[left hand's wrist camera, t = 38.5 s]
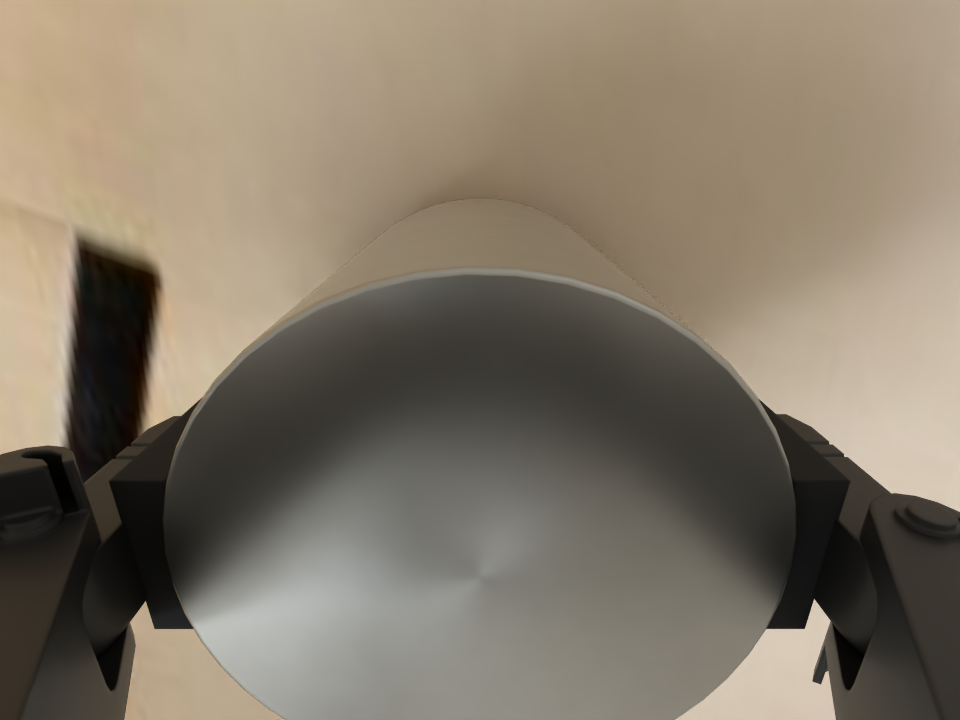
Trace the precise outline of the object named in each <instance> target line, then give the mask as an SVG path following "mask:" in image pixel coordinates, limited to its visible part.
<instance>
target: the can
mask: <svg viewBox="0 0 960 720" xmlns="http://www.w3.org/2000/svg"><path fill="white" fill-rule="evenodd" d="M163 529H164V543H165V554H166V558H167V562H168V566H169V570H170V574H171V579H172V583H173V586H174V588H175V591H176V593H177V596H178V598H179V600H180V603H181V605H182V608H183V610H184V613H185V615H186V616H187V618H188V620H189V622H190V623H191V625H192V627H193V628H194V630H195V632H196V633H197V635H198V637H199V638H200V640H201V642H202V643H203V644H204V646H205V647H206V648H207V649H208V651H209V652H210V653H211V655H212V656H213V657H214V658H215V660H216V661H217V662H218V663H219V665H220V666H221V667H222V668H223V669H224V670H225V671H226V672H227V673H228V674H229V675H230V676H231V677H232V678H233V679H234V680H235V681H236V682H237V683H238V684H239V685H240V686H241V687H242V688H243V689H244V690H245V691H246V692H248V693H249V694H250V695H251V696H253V697H254V698H255V699H257V700H258V701H259V702H260V703H262V704H263V705H264V706H265V707H267V708H268V709H269V710H271V711H272V712H274V713H275V714H277V715H279V716H280V717H282V718H283V719H285V720H675V719H677V718H678V717H680V716H681V715H682V714H684V713H685V712H687V711H688V710H689V709H691V708H692V707H694V706H695V705H697V704H698V703H699V702H701V701H702V700H703V699H705V698H706V697H707V696H708V695H709V694H710V693H711V692H713V691H714V690H715V689H716V688H717V687H718V686H719V685H720V684H722V683H723V682H724V681H725V680H726V679H727V678H728V677H729V676H730V675H731V674H732V673H733V671H734V670H735V669H736V668H737V667H738V666H739V665H740V664H741V662H742V661H743V660H744V659H745V658H746V657H747V656H748V655H749V653H750V652H751V650H752V649H753V647H754V646H755V644H756V643H757V641H758V640H759V639H760V637H761V636H762V634H763V633H764V631H765V630H766V628H767V626H768V624H769V622H770V620H771V618H772V616H773V614H774V612H775V610H776V608H777V606H778V604H779V602H780V600H781V598H782V595H783V592H784V588H785V585H786V582H787V579H788V576H789V573H790V570H791V565H792V559H793V552H794V546H795V539H796V501H795V495H794V490H793V485H792V479H791V474H790V469H789V464H788V461H787V458H786V455H785V453H784V450H783V447H782V445H781V442H780V439H779V437H778V434H777V431H776V429H775V427H774V425H773V424H772V422H771V420H770V418H769V417H768V415H767V413H766V412H765V410H764V408H763V406H762V405H761V403H760V401H759V399H758V398H757V396H756V395H755V394H754V392H753V391H752V390H751V389H750V387H749V386H748V385H747V384H746V383H745V381H744V380H743V379H742V378H741V376H740V375H739V374H738V373H737V372H736V370H735V369H734V368H733V367H732V366H731V364H730V363H728V362H727V361H726V360H725V359H724V358H723V357H722V356H721V355H719V354H718V353H717V352H716V351H715V350H714V349H713V348H712V347H710V346H709V345H708V344H707V343H706V342H705V341H704V340H703V339H701V338H700V337H699V336H698V335H697V334H696V333H694V332H693V331H692V330H691V329H690V328H689V327H687V326H686V325H685V324H684V323H683V322H681V321H680V320H679V319H678V318H677V317H676V316H674V315H673V314H672V313H671V312H670V311H669V310H667V309H666V308H665V307H664V306H663V305H661V304H660V303H659V302H658V301H657V300H656V299H654V298H653V297H652V296H651V295H650V294H648V293H647V292H646V291H645V290H644V289H643V288H641V287H640V286H639V285H638V284H637V283H635V282H634V281H633V280H632V279H631V278H630V277H628V276H627V275H626V274H625V273H624V272H622V271H621V270H620V269H619V268H618V267H617V266H615V265H614V264H613V263H612V262H611V261H609V260H608V259H607V258H606V257H605V256H604V255H602V254H601V253H600V252H599V251H598V250H596V249H595V248H594V247H593V246H592V245H591V244H589V243H588V242H587V241H586V240H585V239H583V238H582V237H581V236H580V235H579V234H578V233H576V232H575V231H574V230H573V229H571V228H570V227H568V226H567V225H565V224H564V223H562V222H561V221H559V220H558V219H556V218H554V217H552V216H550V215H548V214H546V213H544V212H542V211H540V210H538V209H535V208H532V207H529V206H526V205H522V204H519V203H516V202H510V201H504V200H498V199H479V198H473V199H463V200H453V201H449V202H445V203H441V204H437V205H433V206H430V207H428V208H425V209H423V210H420V211H418V212H415V213H413V214H411V215H409V216H408V217H406V218H404V219H402V220H400V221H399V222H397V223H395V224H394V225H393V226H391V227H390V228H389V229H387V230H386V231H385V232H383V233H382V234H381V235H380V236H378V237H377V238H376V239H375V240H374V241H372V242H371V243H370V244H369V245H368V246H366V247H365V248H364V249H363V250H362V251H361V252H359V253H358V254H357V255H356V256H355V257H353V258H352V259H351V260H350V261H349V262H347V263H346V264H345V265H344V266H343V267H342V268H340V269H339V270H338V271H337V272H336V273H334V274H333V275H332V276H331V277H330V278H328V279H327V280H326V281H325V282H324V283H323V284H321V285H320V286H319V287H318V288H317V289H315V290H314V291H313V292H312V293H311V294H309V295H308V296H307V297H306V298H305V299H304V300H302V301H301V302H300V303H299V304H298V305H296V306H295V307H294V308H293V309H292V310H291V311H289V312H288V313H287V314H286V315H285V316H283V317H282V318H281V319H280V320H279V321H277V322H276V323H275V324H274V325H273V326H272V327H270V328H269V329H268V330H267V331H266V332H264V333H263V334H262V335H261V336H260V337H258V338H257V339H256V340H255V341H254V342H253V343H251V344H250V345H249V346H248V347H247V348H245V349H244V350H243V351H242V352H241V353H240V354H239V355H238V356H237V357H236V359H235V360H234V361H233V362H232V363H231V364H230V365H229V366H228V367H227V368H226V369H225V370H224V371H223V372H222V373H221V374H220V375H219V376H218V377H217V378H216V379H215V380H214V382H213V383H212V385H211V386H210V388H209V389H208V391H207V392H206V393H205V395H204V396H203V398H202V399H201V401H200V402H199V404H198V405H197V406H196V408H195V409H194V411H193V412H192V414H191V416H190V418H189V421H188V423H187V425H186V427H185V429H184V431H183V433H182V435H181V438H180V440H179V442H178V444H177V446H176V449H175V453H174V457H173V460H172V464H171V467H170V471H169V475H168V478H167V482H166V490H165V501H164V511H163Z"/></svg>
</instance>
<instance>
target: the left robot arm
mask: <svg viewBox="0 0 960 720" xmlns="http://www.w3.org/2000/svg"><path fill="white" fill-rule="evenodd" d="M202 398H203V397H202ZM202 398H201V399H202ZM201 399H200V400H199V401H198V402H197V403H196V404H194V405H193V406H192V407H191V408H190V409H189V410H188V411H187V412H186V413H184V414H183V415H182V416H173V417H171V418H169V419H167V420H165V421H163V422H161V423H159V424H157V425H155V426H153V427H151V428H149V429H148V430H147V431H145V432H144V433H143V434H142V435H141V436H139V437H138V438H137V439H136V440H135V441H133V442H132V443H131V447H126V448H125V449H124V450H123V451H122V452H120V453H119V454H118V455H117V456H116V459H112V460H111V461H110V462H109V463H107V464H106V465H105V466H104V467H103V468H101V469H100V470H99V471H98V472H97V473H95V474H94V475H93V476H92V477H91V478H89V479H88V480H87V481H86V482H85V483H84V484H83V481H82V478H81V475H80V472H79V469H78V466H77V463H76V460H75V457H74V454H73V452H72V451H70V450H68V449H67V448H65V447H58V446H40V447H31V448H25V449H21V450H17V451H13V452H9V453H5V454H1V455H0V720H124V717H125V711H126V704H127V698H128V691H129V685H130V678H131V672H132V665H133V659H134V653H135V646H136V645H135V639H134V634H133V631H132V628H131V625H130V621H131V620H132V619H133V617H134V616H135V614H136V613H137V612H138V610H139V609H140V608H141V606H142V605H143V604H144V602H145V601H146V603H147V606H148V609H149V612H150V615H151V619H152V622H153V625H154V628H155V629H194V628H193V627H192V625H191V623H190V622H189V620H188V618H187V616H186V615H185V613H184V610H183V608H182V605H181V603H180V600H179V598H178V596H177V593H176V591H175V588H174V586H173V583H172V579H171V574H170V570H169V566H168V562H167V558H166V554H165V543H164V529H163V511H164V501H165V490H166V482H167V478H168V475H169V471H170V467H171V464H172V460H173V457H174V453H175V449H176V446H177V444H178V442H179V440H180V438H181V435H182V433H183V431H184V429H185V427H186V425H187V423H188V421H189V418H190V416H191V414H192V412H193V411H194V409H195V408H196V406H197V405H198V404H199V402H200V401H201ZM759 401H760V400H759ZM760 403H761V405H762V406H763V408H764V410H765V412H766V413H767V415H768V417H769V418H770V420H771V422H772V424H773V425H774V427H775V429H776V431H777V434H778V437H779V439H780V442H781V445H782V447H783V450H784V453H785V455H786V458H787V461H788V464H789V469H790V474H791V479H792V485H793V490H794V495H795V501H796V539H795V546H794V552H793V559H792V565H791V570H790V573H789V576H788V579H787V582H786V585H785V588H784V592H783V595H782V598H781V600H780V602H779V604H778V606H777V608H776V610H775V612H774V614H773V616H772V618H771V620H770V622H769V624H768V626H767V628H766V629H805V626H806V623H807V620H808V616H809V613H810V610H811V607H812V604H813V600H814V599H815V600H816V602H817V603H818V604H819V606H820V607H821V608H822V610H823V611H824V612H825V614H826V615H827V616H828V618H829V619H830V620H831V622H830V625H829V628H828V631H827V634H826V637H825V640H824V643H823V646H822V649H821V652H820V655H819V658H818V661H817V664H816V667H815V670H814V675H813V682H816V683H819V684H821V683H822V680H823V677H824V674H825V672H827V671H828V670H829V677H830V683H831V690H832V696H833V702H834V709H835V715H836V720H960V512H958V511H956V510H954V509H951V508H949V507H947V506H945V505H942V504H940V503H938V502H934V501H931V500H927V499H924V498H920V497H917V496H911V495H904V494H896V493H894V494H891V493H890V492H889V491H888V490H886V489H885V488H884V487H883V486H882V485H880V484H879V483H878V482H877V481H876V480H874V479H873V478H872V477H871V476H870V475H868V474H867V473H866V472H865V471H864V470H862V469H861V468H860V467H859V466H858V465H856V464H855V463H854V462H853V461H852V460H850V459H849V458H848V457H844V454H843V453H842V452H841V451H840V450H838V449H837V448H836V447H835V446H834V445H829V441H828V440H826V439H825V438H824V437H823V436H822V435H820V434H819V433H818V432H817V431H816V430H814V429H813V428H812V427H811V426H809V425H807V424H804V423H802V422H800V421H798V420H796V419H794V418H792V417H790V416H788V415H786V414H775V413H774V412H773V411H772V410H771V409H769V408H768V407H767V406H766V405H765V404H764V403H763V402H762V401H760Z"/></svg>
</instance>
